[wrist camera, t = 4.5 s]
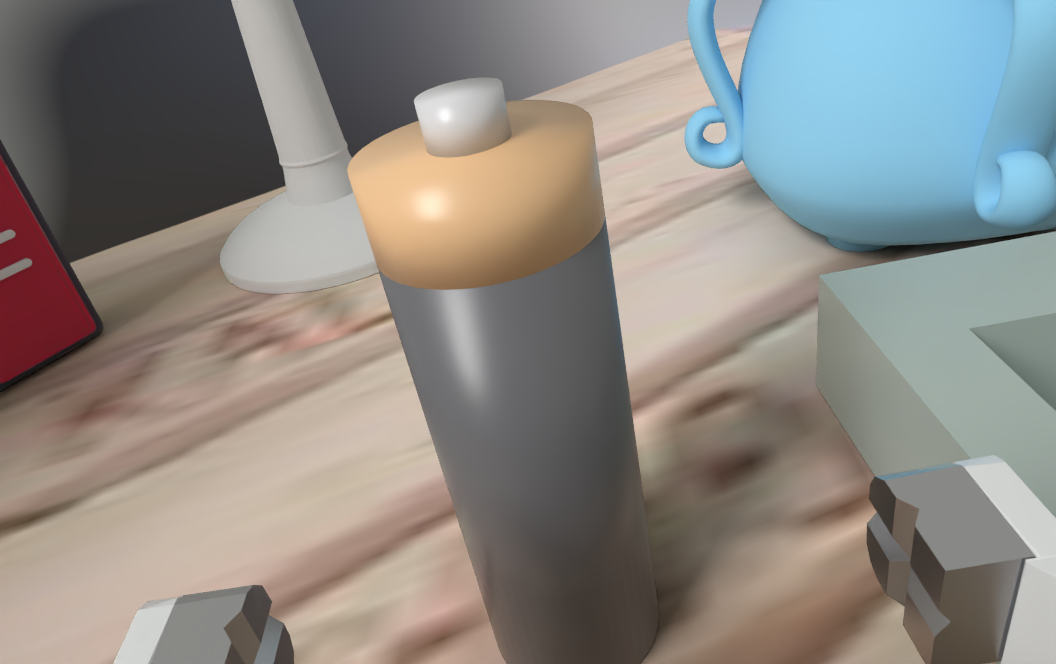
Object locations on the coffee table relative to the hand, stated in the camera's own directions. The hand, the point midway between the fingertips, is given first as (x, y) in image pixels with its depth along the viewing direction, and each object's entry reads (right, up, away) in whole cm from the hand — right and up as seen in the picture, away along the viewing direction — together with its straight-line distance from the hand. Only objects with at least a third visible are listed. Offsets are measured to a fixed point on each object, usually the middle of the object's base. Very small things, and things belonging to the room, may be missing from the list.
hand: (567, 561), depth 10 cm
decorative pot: (+17, +9, +24) cm, 30 cm away
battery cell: (+1, -4, +8) cm, 9 cm away
